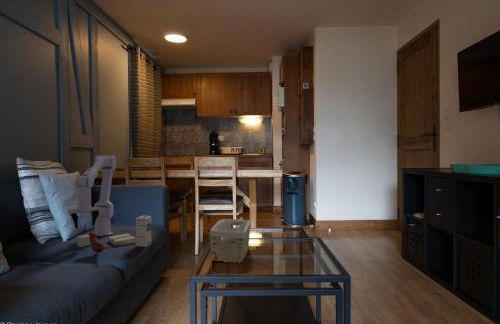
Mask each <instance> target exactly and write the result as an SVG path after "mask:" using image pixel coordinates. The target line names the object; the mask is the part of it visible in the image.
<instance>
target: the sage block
mask: <svg viewBox="0 0 500 324" xmlns="http://www.w3.org/2000/svg"><path fill="white" fill-rule="evenodd" d="M77 244H78V245H79V246H84V245H89V244H90V239H89V233H85V234H79V235H76V245H77Z"/></svg>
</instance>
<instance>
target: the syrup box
mask: <svg viewBox="0 0 500 324" xmlns="http://www.w3.org/2000/svg"><path fill="white" fill-rule="evenodd" d="M152 222H153V221H152V216H150V215H141V216H139V217H136V218H135V234H136V235H135V236H136V237H135V238H136V247H143V248H145V247H147V248H148V246H150V245H151V244H152V243H153V230H152V229H153V228H152V227H153V225H152Z"/></svg>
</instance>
